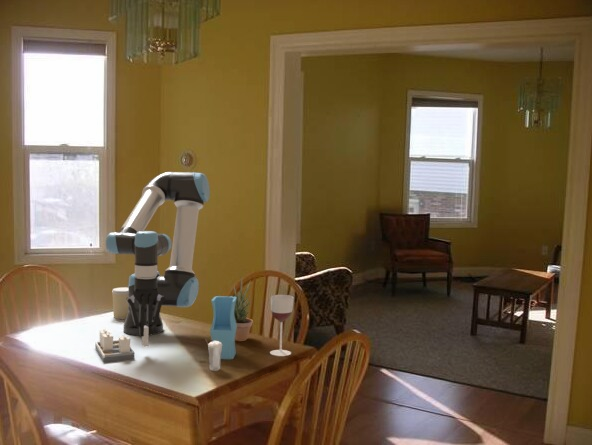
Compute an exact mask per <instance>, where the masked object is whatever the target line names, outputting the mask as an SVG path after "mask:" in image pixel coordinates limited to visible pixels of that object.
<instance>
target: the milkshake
mask: <svg viewBox="0 0 592 445" xmlns="http://www.w3.org/2000/svg"><path fill="white" fill-rule="evenodd" d="M205 341H206V343H207V350H208V365H209V366H208V368H209V371H212V372H217V371H220V370H221V362H222V359H221V352H222V343H221V342H219V341H213V342H212V341H210V342H209V343H208V341H207V339H205Z"/></svg>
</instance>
